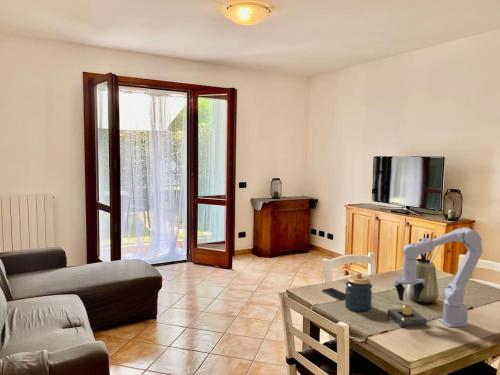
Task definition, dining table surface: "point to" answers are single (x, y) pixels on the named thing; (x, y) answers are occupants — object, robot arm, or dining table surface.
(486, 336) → the dining table surface
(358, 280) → the canister
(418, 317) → the grey square socket block
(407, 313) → the piston
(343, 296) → the phone
